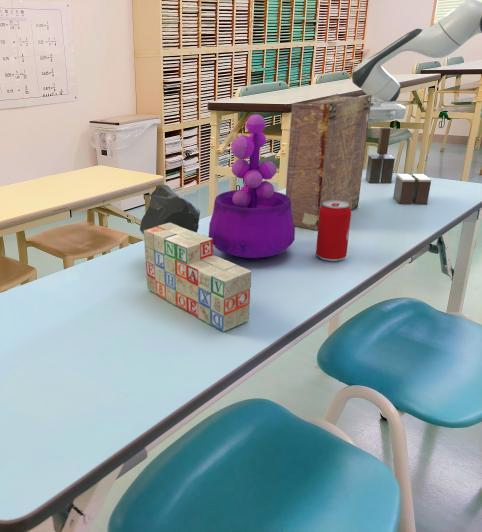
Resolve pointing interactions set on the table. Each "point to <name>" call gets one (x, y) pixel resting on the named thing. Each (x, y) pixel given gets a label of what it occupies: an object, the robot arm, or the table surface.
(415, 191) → the brown wooden cube
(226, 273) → the stack of blocks
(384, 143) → the knife
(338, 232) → the beverage can
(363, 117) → the book
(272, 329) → the table surface
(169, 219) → the dark grey faceted rock
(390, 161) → the knife holder
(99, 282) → the table surface
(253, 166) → the decorative plant
